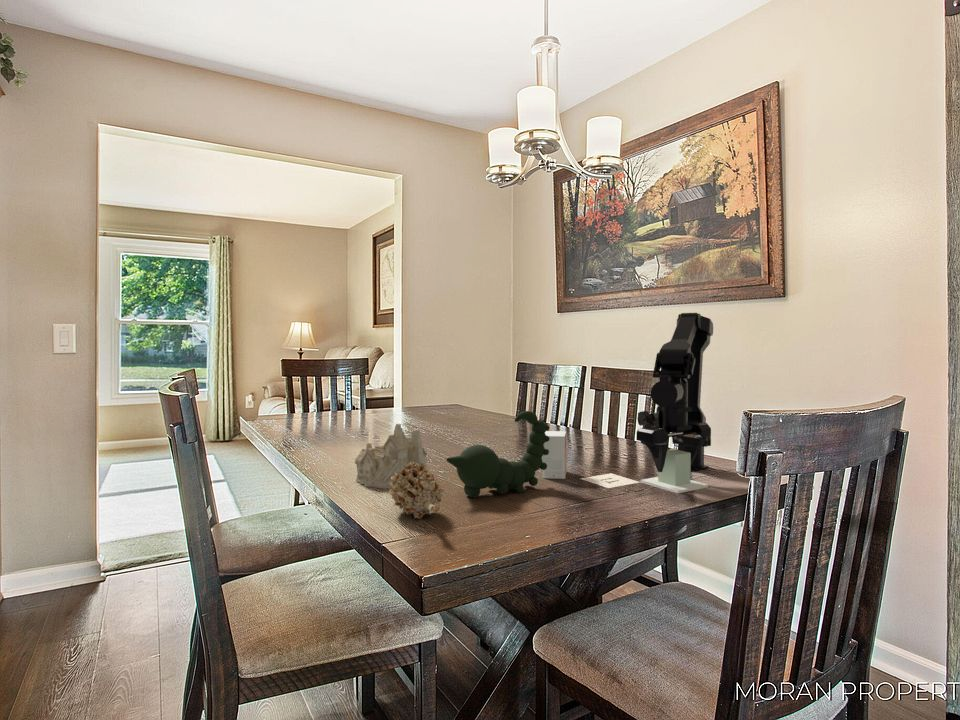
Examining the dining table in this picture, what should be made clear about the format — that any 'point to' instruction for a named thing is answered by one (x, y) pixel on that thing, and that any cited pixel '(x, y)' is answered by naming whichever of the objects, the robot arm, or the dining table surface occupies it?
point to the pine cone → (416, 490)
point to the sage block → (676, 468)
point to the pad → (676, 489)
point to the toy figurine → (503, 463)
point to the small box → (555, 455)
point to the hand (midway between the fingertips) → (673, 469)
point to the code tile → (609, 480)
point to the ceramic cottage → (389, 458)
